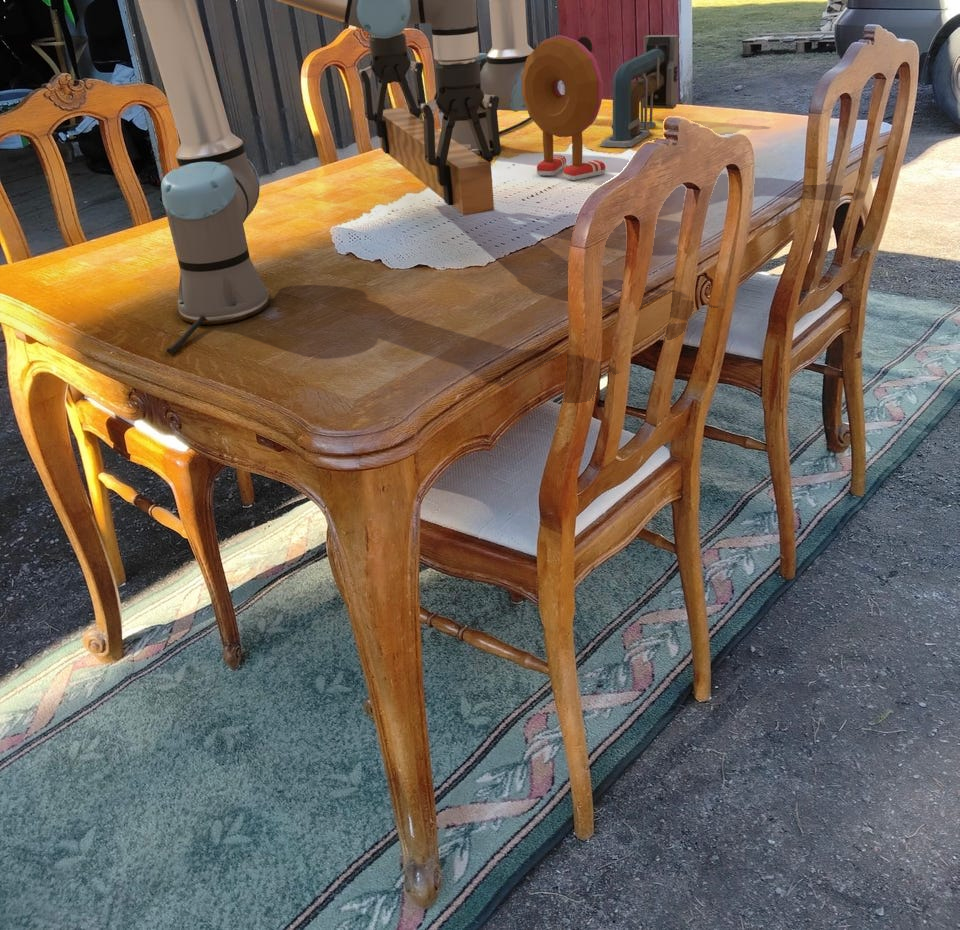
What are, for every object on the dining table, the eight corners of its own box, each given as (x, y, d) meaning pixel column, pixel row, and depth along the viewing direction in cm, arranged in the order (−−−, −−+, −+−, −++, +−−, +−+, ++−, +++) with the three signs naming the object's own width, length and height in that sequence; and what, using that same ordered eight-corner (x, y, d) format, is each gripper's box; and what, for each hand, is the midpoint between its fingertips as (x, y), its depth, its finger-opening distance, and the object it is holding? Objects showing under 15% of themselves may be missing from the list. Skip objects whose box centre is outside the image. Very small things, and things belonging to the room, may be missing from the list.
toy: (617, 173, 223) (617, 32, 207) (590, 184, 216) (588, 39, 201) (546, 163, 236) (541, 30, 220) (519, 173, 230) (511, 36, 214)
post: (494, 210, 167) (490, 163, 162) (463, 215, 165) (459, 168, 161) (405, 144, 216) (401, 107, 212) (380, 148, 214) (376, 110, 210)
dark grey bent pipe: (630, 147, 243) (630, 56, 233) (598, 146, 247) (597, 56, 236) (676, 118, 269) (678, 35, 258) (646, 117, 273) (647, 35, 262)
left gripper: (502, 51, 165) (508, 188, 177) (395, 64, 160) (409, 203, 172) (517, 57, 159) (523, 198, 170) (408, 69, 154) (421, 214, 166)
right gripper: (425, 26, 203) (436, 140, 215) (338, 38, 198) (354, 153, 210) (435, 30, 196) (446, 146, 208) (346, 41, 192) (362, 160, 204)
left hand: (466, 200), depth 171 cm, fingers closed on post, 6 cm apart
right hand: (400, 149), depth 209 cm, fingers closed on post, 6 cm apart
